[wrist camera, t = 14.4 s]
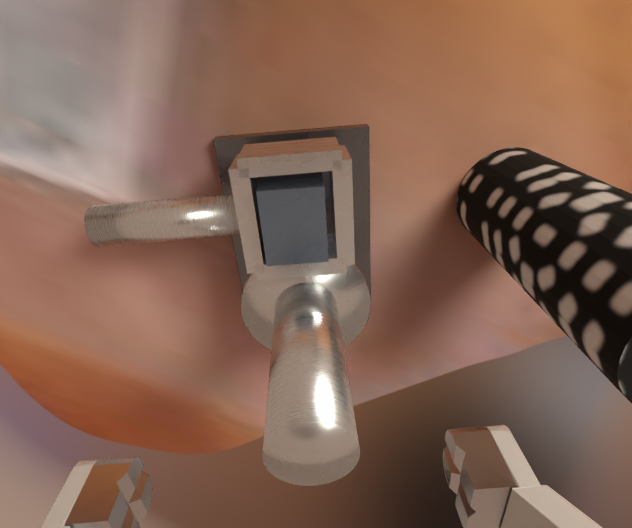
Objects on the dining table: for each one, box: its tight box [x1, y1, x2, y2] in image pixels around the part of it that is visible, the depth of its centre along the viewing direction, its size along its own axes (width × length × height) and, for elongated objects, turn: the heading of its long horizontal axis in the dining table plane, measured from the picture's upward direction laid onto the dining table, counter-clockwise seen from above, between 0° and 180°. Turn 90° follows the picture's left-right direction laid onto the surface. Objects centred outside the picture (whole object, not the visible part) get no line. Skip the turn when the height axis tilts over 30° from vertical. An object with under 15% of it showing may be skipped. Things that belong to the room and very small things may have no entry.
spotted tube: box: [456, 148, 632, 403], centre depth 26 cm, size 8×8×20 cm
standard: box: [85, 124, 371, 486], centre depth 26 cm, size 17×20×20 cm
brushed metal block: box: [256, 172, 329, 266], centre depth 28 cm, size 5×4×9 cm
